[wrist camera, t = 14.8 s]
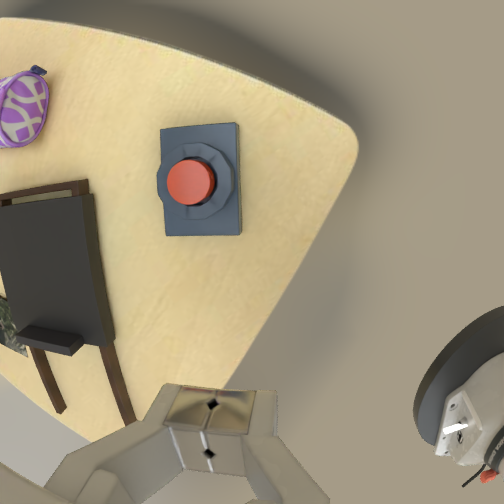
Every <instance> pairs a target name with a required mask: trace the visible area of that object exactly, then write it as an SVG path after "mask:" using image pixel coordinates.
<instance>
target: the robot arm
mask: <svg viewBox="0 0 504 504" xmlns="http://www.w3.org/2000/svg"><path fill="white" fill-rule="evenodd" d="M277 418H278V417H277V391H276V390H257V391H251V390H228V389H215V388H205V387H196V386H188V385H178V384H170V383H166V384H164V385H163V386H162V388H161V389H160V391H159V393H158V395H157V396H156V398H155V400H154V402H153V403H152V405H151V407H150V408H149V410H148V412H147V414H146V415H145V417H144V419H143V421H138V420H137V421H135V422H133V423H131V424H129V425H127V426H125V427H123V428H122V429H120V430H118V431H116V432H114V433H112V434H110V435H108V436H106V437H103V438H101V439H99V440H97V441H95V442H93V443H91V444H89V445H87V446H85V447H83V448H80V449H78V450H76V451H74V452H72V453H70V454H67V455H66V457H65V458H64V459H63V461H62V462H61V463H60V465H59V466H58V468H57V469H56V470H55V472H54V473H53V475H52V476H51V478H50V479H49V480H48V482H47V483H46V485H45V486H44V487H43V488H42V487H41V486H39V485H37V484H35V483H33V482H32V481H30V480H28V479H26V478H25V477H23V476H21V475H20V474H18V473H16V472H15V471H13V470H12V469H10V468H9V467H7V466H6V465H4V464H3V463H1V462H0V504H141V503H143V502H144V501H145V500H147V499H148V498H150V497H151V496H152V495H153V494H155V493H156V492H157V491H158V490H160V489H161V488H163V487H164V486H165V485H166V484H168V483H169V482H170V481H171V480H173V479H174V478H175V477H176V476H177V475H178V474H180V473H181V472H182V471H183V469H185V470H193V471H200V472H209V473H217V474H224V475H232V476H241V477H247V480H248V482H249V484H250V486H251V488H252V489H253V491H254V493H255V495H256V497H257V498H258V500H255V499H252V500H251V501H249V502H247V503H246V504H330V498H329V497H328V496H327V495H326V494H325V493H324V491H323V490H322V489H321V488H320V487H319V486H318V484H317V483H316V482H315V481H314V480H313V479H312V477H311V476H310V475H309V474H308V473H307V471H306V470H305V469H304V468H303V467H302V465H301V464H300V463H299V462H298V460H297V459H296V458H295V457H294V456H293V454H292V453H291V452H290V451H289V449H288V448H287V447H286V446H285V444H284V443H283V442H282V440H281V439H280V438H279V437H278V436H277V423H278V422H277V421H278V419H277ZM434 453H435V454H436V455H439V456H450V455H451V457H452V459H453V460H454V462H455V463H457V464H458V465H461V466H469V465H478V464H483V466H482V468H481V469H480V470H479V471H478V472H477V473H476V474H475V475H474V476H472V477H471V478H470V479H469V480H468V481H467V482H465V483H464V484H463V485H462V487H465V486H466V485H467V484H468V483H469V482H471V481H472V480H473V479H474V478H476V477H477V476H478V475H479V474H480V473H481V472H482V471H483V470H484V468H485V466H486V465H488V466H489V467H490V468H491V469H490V470H487V471H483V472H482V473H481V476H480V477H481V478H480V479H481V481H482V483H486V482H488V481H489V480H493V479H494V478H495V476H496V475H497V474H501V477H502V478H503V481H504V352H503V353H501V354H498V355H496V356H495V357H493V358H491V359H490V360H488V361H487V362H486V363H484V364H483V365H482V366H481V367H480V368H479V369H477V370H476V371H475V372H474V373H473V375H472V376H471V377H470V378H469V379H468V380H467V381H466V382H465V383H464V384H463V385H462V386H460V387H459V388H457V389H456V390H454V391H453V392H451V393H450V394H449V395H448V396H447V397H446V399H445V404H444V409H443V414H442V418H441V423H440V427H439V431H438V435H437V439H436V443H435V446H434Z"/></svg>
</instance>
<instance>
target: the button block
mask: <svg viewBox="0 0 504 504" xmlns="http://www.w3.org/2000/svg"><path fill="white" fill-rule="evenodd" d="M160 141H161V166H160V168H159V170H158V172H157V190H158V195H159V197H160V199H161V200H162V202H163V205H164V219H165V232H166V236H212V235H240V233H241V232H242V219H241V189H240V156H239V125H238V124H237V123H235V122H233V123H218V124H205V125H194V126H184V127H175V128H166V129H161V130H160ZM183 160H199V161H202V162H204V163H206V164H207V165H208V166H209V167H210V168H211V170H212V172H213V174H214V178H215V184H214V188H213V191H212V193H211V194H210V195H209V196H208V197H207V198H206V199H205V200H203V201H200V202H198V203H196V204H192V205H185V204H181V203H179V202H177V201H176V200H175V199H173V197H172V196H171V195H170V193H169V191H168V187H167V177H168V174H169V172H170V170H171V169H172V167H173V166H174V165H175V164H177V163H178V162H180V161H183Z"/></svg>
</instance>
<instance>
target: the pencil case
mask: <svg viewBox="0 0 504 504" xmlns="http://www.w3.org/2000/svg"><path fill="white" fill-rule="evenodd" d="M46 73H47V71H46V70H44V69H42V68H40V67H39V66H37V65H34V66H32V67H31V69H30V70H29V71H22V72H20V73H17V74H15V75H14V76H10V77H5V78H2V79H0V148H6V147H8V148H13V147H23V146H26V145H28V144H29V143H31V142H32V141H33V140H35V139H36V137H37V136H38V135H39V133H40V131H41V129H42V127H43V125H44V122H45V119H46V113H47V106H48V101H49V90H48V86H47V84H46V82H45V80H44V79H43V78H42V77H41V76H40V75H45V74H46Z"/></svg>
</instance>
